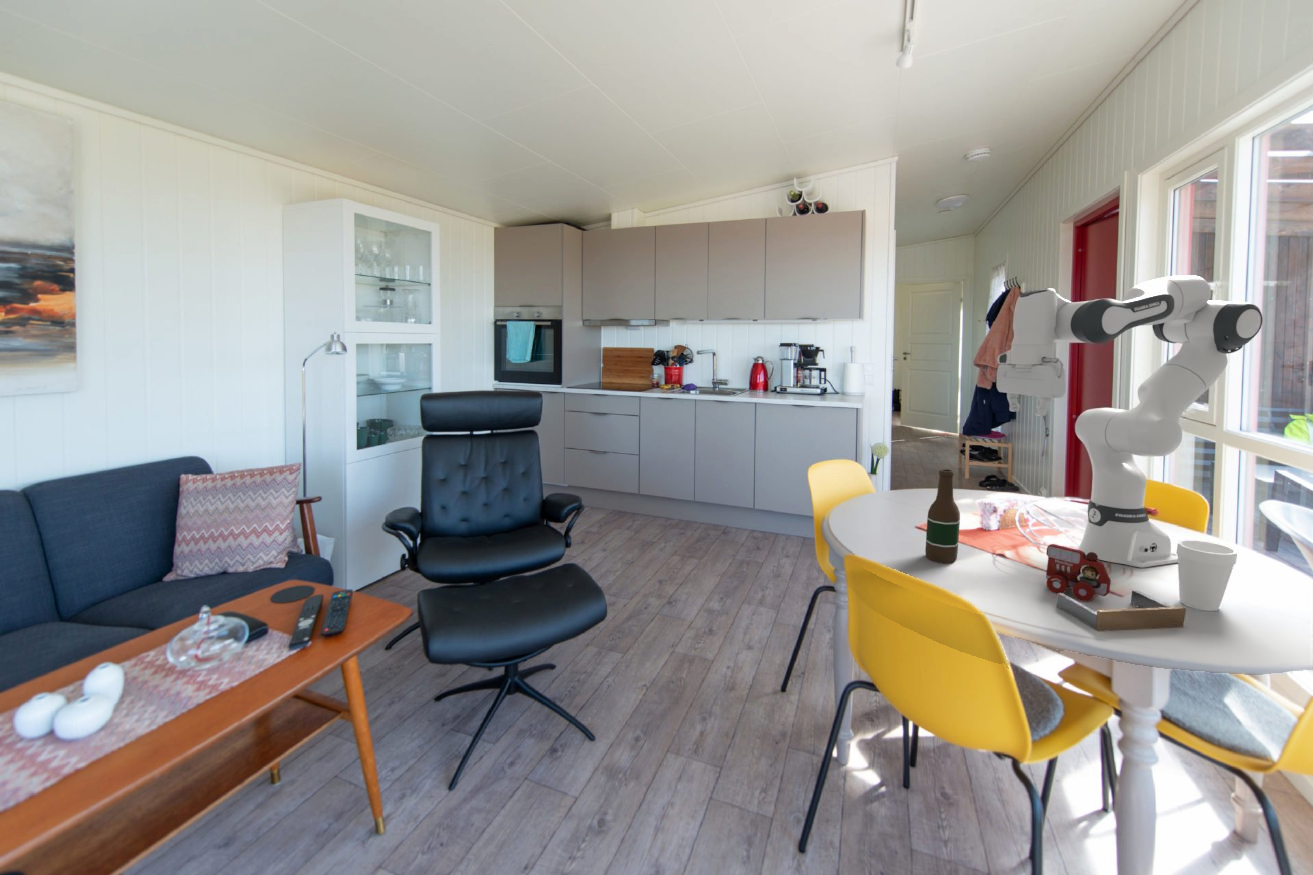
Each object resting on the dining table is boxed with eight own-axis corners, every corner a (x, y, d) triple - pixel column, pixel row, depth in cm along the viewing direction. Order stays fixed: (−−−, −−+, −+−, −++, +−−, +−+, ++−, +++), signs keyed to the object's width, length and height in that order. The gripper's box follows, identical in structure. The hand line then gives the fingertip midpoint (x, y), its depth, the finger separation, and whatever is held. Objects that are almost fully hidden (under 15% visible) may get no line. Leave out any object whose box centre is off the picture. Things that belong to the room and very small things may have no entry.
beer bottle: (944, 565, 152) (950, 474, 148) (918, 556, 159) (923, 469, 155) (963, 560, 155) (970, 471, 152) (937, 551, 162) (943, 466, 158)
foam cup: (1159, 596, 132) (1166, 540, 130) (1197, 594, 133) (1204, 538, 131) (1201, 615, 123) (1209, 555, 121) (1241, 613, 124) (1250, 553, 122)
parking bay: (1134, 602, 129) (1137, 585, 128) (1183, 626, 118) (1186, 608, 117) (1056, 606, 128) (1058, 588, 127) (1098, 630, 117) (1100, 611, 116)
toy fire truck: (1102, 607, 128) (1107, 561, 126) (1037, 588, 137) (1041, 545, 136) (1112, 598, 132) (1117, 553, 130) (1049, 581, 141) (1053, 539, 140)
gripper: (1076, 357, 134) (1070, 418, 136) (1016, 356, 154) (1012, 408, 156) (1049, 358, 134) (1044, 418, 136) (993, 356, 154) (989, 409, 156)
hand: (1026, 413), depth 146 cm, fingers open, 8 cm apart
